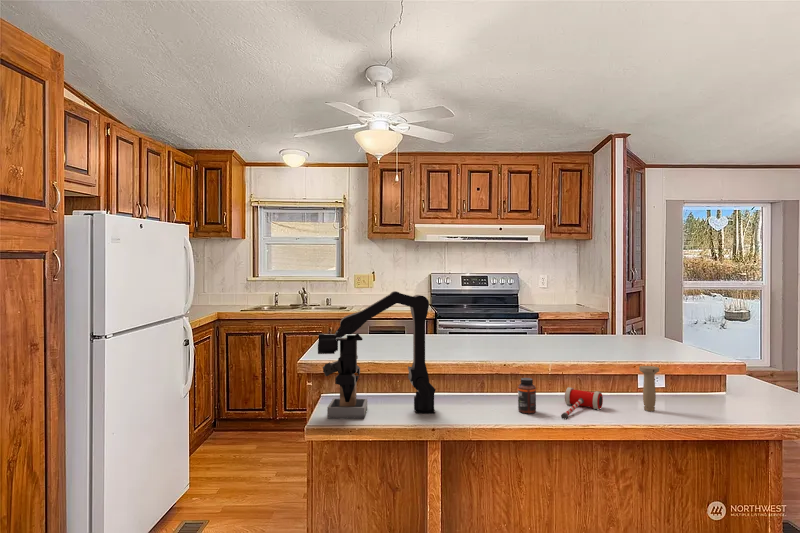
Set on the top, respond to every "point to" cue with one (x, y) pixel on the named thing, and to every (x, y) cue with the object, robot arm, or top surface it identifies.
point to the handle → (649, 386)
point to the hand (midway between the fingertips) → (348, 400)
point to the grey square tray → (347, 409)
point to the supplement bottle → (527, 396)
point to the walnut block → (352, 400)
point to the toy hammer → (582, 400)
